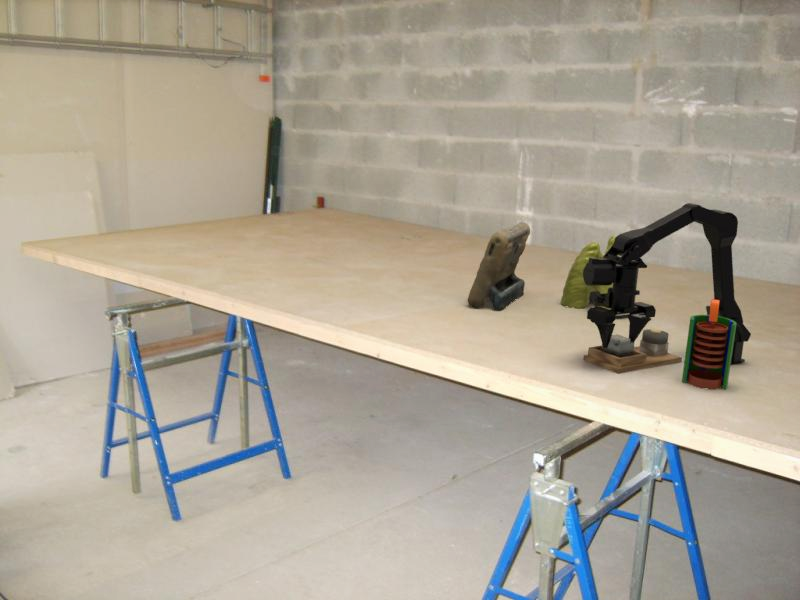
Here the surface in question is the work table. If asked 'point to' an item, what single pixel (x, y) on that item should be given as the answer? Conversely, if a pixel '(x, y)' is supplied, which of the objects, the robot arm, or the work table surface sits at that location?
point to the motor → (709, 349)
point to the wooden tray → (633, 358)
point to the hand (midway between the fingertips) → (618, 345)
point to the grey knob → (655, 336)
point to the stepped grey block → (619, 346)
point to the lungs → (575, 286)
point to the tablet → (500, 269)
